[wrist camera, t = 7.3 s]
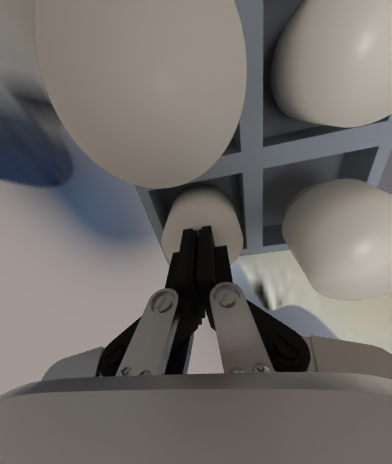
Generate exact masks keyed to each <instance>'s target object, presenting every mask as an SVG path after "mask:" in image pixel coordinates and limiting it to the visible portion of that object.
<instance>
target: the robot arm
mask: <svg viewBox="0 0 392 464" xmlns="http://www.w3.org/2000/svg"><path fill="white" fill-rule="evenodd" d="M205 310H206V313H207V316H208V319H209V323H210V326H211V327H212V328H213V329H214V330H215V331H216V333H217V339H218V343H219V349H220V354H221V359H222V364H223V368H224V373H221V374H187V371H188V366H189V360H190V355H191V350H192V344H193V339H194V331H195V330H196V329H197V328H198V325H201V324H202V318H205ZM0 464H392V354H391V353H389V352H387V351H385V350H384V349H382V348H379V347H376V346H373V345H367V344H362V343H356V342H350V341H344V340H338V339H332V338H326V337H320V336H314V335H311V336H310V337H306V336H301V335H299V334H297V333H296V332H295V331H294V330H292V329H291V328H289V327H288V326H286V325H285V324H283V323H282V322H280V321H279V320H277V319H275V318H274V317H272V316H271V315H269V314H268V313H266V312H265V311H263V310H262V309H260V308H259V307H257V306H256V305H254V304H253V303H251V302H250V301H248V300H246V298H245V296H244V294H243V291H242V290H241V288H240V287H239V286H238V285H236V284H234V283H233V282H232V275H231V269H230V262H229V256H228V250H227V245H224V246H217V247H215V243H214V238H213V233H212V228H211V225H210V226H203V227H202V229H200V230H199V231H198V235H197V231H196V230H193V229H192V228H190V229H184V230H183V233H182V239H181V244H180V250H179V252H174V253H173V254H172V258H171V263H170V267H169V272H168V276H167V281H166V286H165V289H161V290H159V291H157V292H156V293H154V294H153V295H152V296H151V298H150V299H149V301H148V304H147V306H146V308H145V310H144V313H143V315H142V316H141V317H140V318H139V319H138V320H136V321H135V322H134V323H133V324H132V325H131V326H129V327H128V328H127V329H126V330H125V331H124V332H122V333H121V334H120V335H119V336H118V337H117V338H115V339H114V340H113V341H112V342H111V343H110V344H109V345H108V346H107V347H106V348H103V347H99V348H95V349H92V350H89V351H86V352H83V353H80V354H77V355H73V356H70V357H67V358H64V359H62V360H60V361H58V362H56V363H55V364H54V365H52V366H51V367H50V368H49V370H48V371H47V372H46V373H45V375H44V377H43V378H42V380H41V381H38V382H33V383H29V384H26V385H23V386H20V387H17V388H15V389H13V390H11V391H8V392H7V393H4V394H2V395H0Z"/></svg>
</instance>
